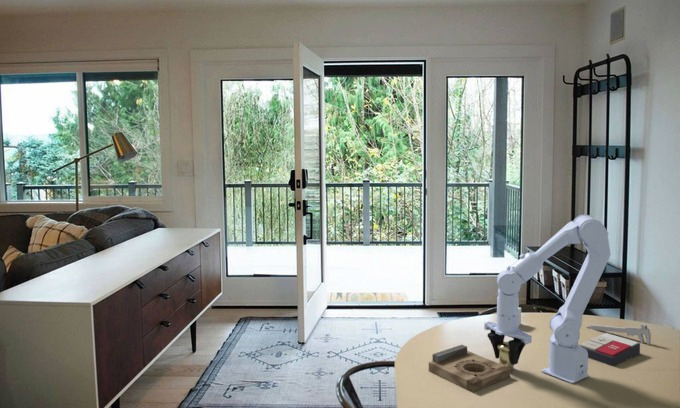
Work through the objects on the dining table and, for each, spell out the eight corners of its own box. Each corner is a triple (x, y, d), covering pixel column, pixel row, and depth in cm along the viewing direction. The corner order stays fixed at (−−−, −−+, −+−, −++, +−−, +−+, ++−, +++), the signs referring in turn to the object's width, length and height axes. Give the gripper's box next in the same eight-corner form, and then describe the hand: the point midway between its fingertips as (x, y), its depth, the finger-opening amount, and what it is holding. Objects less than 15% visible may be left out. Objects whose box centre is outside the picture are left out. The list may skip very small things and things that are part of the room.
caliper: (650, 345, 167) (651, 326, 166) (648, 346, 166) (649, 326, 165) (587, 327, 183) (588, 309, 182) (586, 328, 182) (586, 310, 182)
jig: (510, 377, 145) (510, 361, 144) (472, 392, 136) (472, 375, 136) (465, 358, 158) (465, 343, 157) (428, 370, 149) (428, 355, 149)
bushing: (519, 369, 150) (519, 345, 149) (507, 374, 147) (508, 349, 146) (504, 363, 154) (505, 340, 153) (493, 368, 151) (493, 344, 150)
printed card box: (577, 343, 160) (605, 330, 168) (577, 357, 160) (605, 343, 168) (613, 355, 151) (640, 341, 159) (612, 369, 151) (640, 354, 159)
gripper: (477, 310, 152) (476, 355, 154) (520, 323, 140) (519, 373, 142) (493, 305, 156) (492, 350, 158) (536, 318, 144) (535, 366, 146)
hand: (506, 360), depth 150 cm, fingers closed on bushing, 5 cm apart
